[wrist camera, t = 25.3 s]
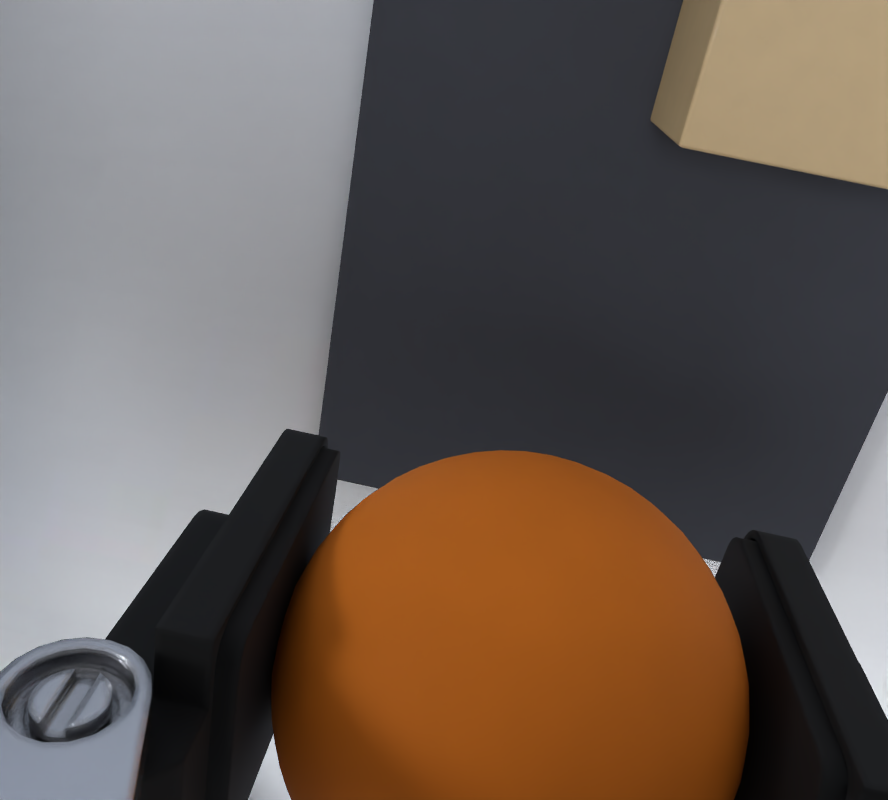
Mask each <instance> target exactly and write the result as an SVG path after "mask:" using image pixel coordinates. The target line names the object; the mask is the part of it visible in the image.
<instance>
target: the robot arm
mask: <svg viewBox="0 0 888 800" xmlns="http://www.w3.org/2000/svg"><path fill="white" fill-rule="evenodd" d="M339 463H340V451H338V450H333V449H328V439H327V437H323V436H319V435H314V434H309V433H305V432H300V431H296V430H291V429H286V430H285V431H284V432H283V433H282V435H281V436H280V438H279V439H278V441H277V442H276V444H275V445H274V447H273V449H272V450H271V452H270V453H269V455H268V456H267V458H266V459H265V461H264V462H263V464H262V465H261V467H260V468H259V470H258V471H257V473H256V474H255V476H254V477H253V479H252V481H251V482H250V484H249V485H248V487H247V488H246V490H245V491H244V493H243V494H242V496H241V497H240V499H239V500H238V502H237V503H236V505H235V506H234V508H233V509H232V511H231V513H230V514H229V515H227V514H222V513H218V512H213V511H209V510H201V511H199V512H198V513H197V514H196V515H195V516H194V517H193V519H192V520H191V522H190V523H189V524H188V526H187V527H186V528H185V530H184V531H183V533H182V534H181V535H180V537H179V538H178V539H177V541H176V542H175V544H174V545H173V546H172V548H171V549H170V550H169V552H168V553H167V555H166V556H165V557H164V559H163V560H162V562H161V563H160V564H159V566H158V567H157V568H156V570H155V571H154V573H153V574H152V575H151V577H150V578H149V579H148V581H147V582H146V584H145V585H144V586H143V588H142V589H141V590H140V592H139V593H138V595H137V596H136V597H135V599H134V600H133V602H132V603H131V604H130V606H129V607H128V608H127V610H126V611H125V613H124V614H123V615H122V617H121V618H120V619H119V621H118V622H117V624H116V625H115V626H114V628H113V629H112V630H111V632H110V633H109V635H108V636H107V637H106V639H96V638H88V637H86V638H75V639H64V640H60V641H56V642H53V643H49V644H46V645H43V646H39V647H37V648H35V649H33V650H31V651H29V652H27V653H26V654H24V655H22V656H20V657H18V658H16V659H15V660H14V661H12V662H11V663H10V664H9V665H8V666H7V667H6V668H4V669H3V670H2V671H1V672H0V800H248V797H249V795H250V792H251V790H252V787H253V784H254V782H255V779H256V777H257V774H258V772H259V769H260V766H261V764H262V761H263V759H264V756H265V754H266V751H267V749H268V746H269V743H270V741H271V738H272V736H273V726H272V710H271V683H272V670H273V665H274V659H275V654H276V649H277V644H278V639H279V636H280V632H281V628H282V624H283V621H284V617H285V614H286V611H287V608H288V605H289V602H290V600H291V597H292V594H293V591H294V588H295V586H296V584H297V582H298V580H299V579H300V577H301V575H302V573H303V572H304V570H305V568H306V566H307V565H308V563H309V561H310V560H311V558H312V556H313V555H314V553H315V551H316V550H317V548H318V547H319V545H320V544H321V543H322V542H323V541H324V539H325V538H326V537H327V536H328V535H329V534H330V527H331V520H332V513H333V506H334V499H335V492H336V485H337V478H338V471H339ZM715 579H716V581H717V583H718V585H719V587H720V588H721V590H722V592H723V594H724V597H725V599H726V601H727V604H728V606H729V609H730V611H731V614H732V616H733V619H734V622H735V625H736V627H737V630H738V633H739V636H740V640H741V645H742V650H743V654H744V659H745V665H746V671H747V676H748V682H749V738H748V744H747V750H746V756H745V762H744V767H743V772H742V778H741V782H740V785H739V788H738V790H737V793H736V796H735V798H734V800H888V720H887V718H886V716H885V714H884V712H883V710H882V708H881V705H880V703H879V701H878V699H877V697H876V695H875V693H874V691H873V689H872V687H871V685H870V683H869V681H868V679H867V677H866V675H865V673H864V671H863V669H862V667H861V665H860V663H859V662H858V660H857V658H856V656H855V654H854V652H853V650H852V648H851V646H850V644H849V642H848V640H847V638H846V636H845V634H844V632H843V630H842V628H841V626H840V624H839V622H838V619H837V617H836V615H835V613H834V611H833V609H832V607H831V605H830V603H829V601H828V599H827V597H826V595H825V593H824V591H823V589H822V587H821V585H820V583H819V581H818V579H817V577H816V575H815V573H814V570H813V568H812V566H811V564H810V562H809V560H808V558H807V556H806V554H805V552H804V550H803V548H802V546H801V544H800V543H799V541H798V540H797V539H794V538H789V537H785V536H780V535H776V534H771V533H766V532H762V531H757V530H751V531H749V532H748V533H747V535H746V536H745V537H744V539H743V538H738V537H735V538H733V539H732V540H731V541H730V543H729V545H728V547H727V549H726V552H725V554H724V557H723V559H722V561H721V564H720V566H719V569H718V571H717V574H716V576H715Z"/></svg>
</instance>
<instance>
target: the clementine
mask: <svg viewBox="0 0 888 800" xmlns="http://www.w3.org/2000/svg"><path fill="white" fill-rule="evenodd" d="M271 710H272V726H273V733H274V740H275V746H276V750H277V755H278V760H279V765H280V769H281V772H282V775H283V778H284V782H285V785H286V788H287V790H288V793H289V795H290V798H291V800H734V798H735V796H736V793H737V790H738V788H739V785H740V782H741V778H742V772H743V767H744V762H745V756H746V750H747V744H748V738H749V682H748V676H747V671H746V665H745V659H744V654H743V650H742V645H741V640H740V636H739V633H738V630H737V627H736V625H735V622H734V619H733V616H732V614H731V611H730V609H729V606H728V604H727V601H726V599H725V597H724V594H723V592H722V590H721V588H720V587H719V585H718V583H717V581H716V579H715V578H714V576H713V574H712V572H711V570H710V569H709V567H708V566H707V564H706V563H705V561H704V560H703V558H702V557H701V556H700V554H699V553H698V551H697V550H696V549H695V548H694V546H693V545H692V544H691V542H690V541H689V540H688V539H687V537H686V536H685V535H684V533H683V532H682V531H681V530H680V529H679V528H678V527H677V526H676V525H675V524H674V523H673V522H672V521H670V520H669V519H668V518H667V517H666V516H665V515H664V514H663V513H662V512H661V511H660V510H659V509H658V508H657V507H655V506H654V505H653V504H652V503H651V502H649V501H648V500H647V499H645V498H644V497H643V496H641V495H640V494H638V493H637V492H636V491H634V490H633V489H632V488H630V487H628V486H627V485H625V484H623V483H621V482H619V481H618V480H616V479H614V478H612V477H610V476H609V475H607V474H604V473H602V472H599V471H597V470H594V469H592V468H590V467H587V466H585V465H582V464H580V463H577V462H574V461H571V460H567V459H563V458H560V457H556V456H552V455H547V454H541V453H534V452H528V451H508V450H496V451H483V452H473V453H468V454H463V455H458V456H453V457H449V458H444V459H441V460H438V461H435V462H432V463H429V464H426V465H423V466H420V467H418V468H415V469H413V470H411V471H409V472H407V473H405V474H403V475H401V476H399V477H397V478H395V479H393V480H392V481H390V482H389V483H387V484H386V485H384V486H383V487H381V488H380V489H378V490H377V491H375V492H374V493H372V494H371V495H369V496H368V497H366V498H365V499H364V500H362V501H361V502H360V503H359V504H358V505H357V506H356V507H354V508H353V509H352V510H351V511H350V512H349V513H348V514H346V515H345V516H344V518H343V519H342V520H341V521H340V522H339V523H338V524H337V525H336V527H335V528H334V529H333V530H332V531H331V532H330V534H329V535H328V536H327V537H326V538H325V539H324V541H323V542H322V543H321V544H320V545H319V547H318V548H317V550H316V551H315V553H314V555H313V556H312V558H311V560H310V561H309V563H308V565H307V566H306V568H305V570H304V572H303V573H302V575H301V577H300V579H299V580H298V582H297V584H296V586H295V588H294V591H293V594H292V597H291V600H290V602H289V605H288V608H287V611H286V614H285V617H284V621H283V624H282V628H281V632H280V636H279V639H278V644H277V649H276V654H275V659H274V665H273V670H272V683H271Z"/></svg>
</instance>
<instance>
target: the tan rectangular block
mask: <svg viewBox="0 0 888 800" xmlns="http://www.w3.org/2000/svg"><path fill="white" fill-rule="evenodd" d="M651 122H653V123H654V124H655V125H656V126H657V127H658V128H659V129H660V130H662V131H663V132H664V133H665V134H666V135H667V136H668V137H670V138H671V139H672V140H673V141H674V142H675V143H676V144H677V145H679V146H680V147H681V148H686V149H690V150H695V151H700V152H705V153H710V154H715V155H720V156H725V157H730V158H735V159H740V160H745V161H750V162H755V163H760V164H765V165H769V166H774V167H779V168H784V169H789V170H794V171H799V172H804V173H809V174H814V175H819V176H824V177H829V178H834V179H839V180H844V181H848V182H853V183H858V184H863V185H868V186H873V187H878V188H883V189H888V0H683V3H682V6H681V10H680V14H679V17H678V21H677V25H676V28H675V32H674V35H673V39H672V43H671V46H670V50H669V53H668V57H667V61H666V64H665V68H664V71H663V75H662V79H661V82H660V86H659V90H658V93H657V97H656V100H655V104H654V108H653V111H652V115H651Z"/></svg>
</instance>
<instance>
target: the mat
mask: <svg viewBox="0 0 888 800" xmlns="http://www.w3.org/2000/svg"><path fill="white" fill-rule="evenodd" d="M682 3H683V0H374V4H373V12H372V19H371V27H370V35H369V43H368V51H367V59H366V67H365V75H364V82H363V90H362V98H361V106H360V114H359V122H358V130H357V138H356V146H355V153H354V161H353V169H352V177H351V185H350V193H349V201H348V209H347V216H346V224H345V232H344V240H343V248H342V256H341V264H340V272H339V280H338V287H337V295H336V303H335V311H334V319H333V327H332V335H331V343H330V350H329V358H328V366H327V374H326V382H325V390H324V398H323V406H322V413H321V421H320V429H319V436H323V437H327V439H328V449H333V450H338V451H340V463H339V471H338V478H337V479H338V480H342V481H347V482H352V483H356V484H361V485H365V486H370V487H375V488H379V489H380V488H381V487H383V486H384V485H386V484H387V483H389V482H390V481H392V480H393V479H395V478H397V477H399V476H401V475H403V474H405V473H407V472H409V471H411V470H413V469H415V468H418V467H420V466H423V465H426V464H429V463H432V462H435V461H438V460H441V459H444V458H449V457H453V456H458V455H463V454H468V453H473V452H483V451H496V450H508V451H528V452H534V453H541V454H547V455H552V456H556V457H560V458H563V459H567V460H571V461H574V462H577V463H580V464H582V465H585V466H587V467H590V468H592V469H594V470H597V471H599V472H602V473H604V474H607V475H609V476H610V477H612V478H614V479H616V480H618V481H619V482H621V483H623V484H625V485H627V486H628V487H630V488H632V489H633V490H634V491H636V492H637V493H638V494H640V495H641V496H643V497H644V498H645V499H647V500H648V501H649V502H651V503H652V504H653V505H654V506H655V507H657V508H658V509H659V510H660V511H661V512H662V513H663V514H664V515H665V516H666V517H667V518H668V519H669V520H670V521H672V522H673V523H674V524H675V525H676V526H677V527H678V528H679V529H680V530H681V531H682V532H683V533H684V535H685V536H686V537H687V539H688V540H689V541H690V542H691V544H692V545H693V546H694V548H695V549H696V550H697V551H698V553H699V554H700V556H701V557H702V558H704V559H709V560H713V561H718V562H721V561H722V559H723V557H724V554H725V552H726V549H727V547H728V545H729V543H730V541H731V540H732V539H733V538H735V537H738V538H743V539H744V537H745V536H746V535H747V533H748V532H749V531H751V530H757V531H762V532H766V533H771V534H776V535H780V536H785V537H789V538H794V539H797V540H798V541H799V543H800V544H801V546H802V548H803V550H804V552H805V554H806V556H807V558H808V560H809V559H810V557H811V555H812V553H813V551H814V549H815V547H816V544H817V542H818V540H819V538H820V536H821V534H822V532H823V529H824V527H825V525H826V523H827V521H828V519H829V516H830V514H831V512H832V510H833V508H834V506H835V504H836V501H837V499H838V497H839V495H840V493H841V491H842V489H843V486H844V484H845V482H846V480H847V478H848V476H849V473H850V471H851V469H852V467H853V465H854V463H855V461H856V458H857V456H858V454H859V452H860V450H861V448H862V445H863V443H864V441H865V439H866V437H867V435H868V433H869V430H870V428H871V426H872V424H873V422H874V420H875V418H876V415H877V413H878V411H879V409H880V407H881V405H882V402H883V400H884V398H885V396H886V394H887V392H888V189H883V188H878V187H873V186H868V185H863V184H858V183H853V182H848V181H844V180H839V179H834V178H829V177H824V176H819V175H814V174H809V173H804V172H799V171H794V170H789V169H784V168H779V167H774V166H769V165H765V164H760V163H755V162H750V161H745V160H740V159H735V158H730V157H725V156H720V155H715V154H710V153H705V152H700V151H695V150H690V149H686V148H681V147H680V146H679V145H677V144H676V143H675V142H674V141H673V140H672V139H671V138H670V137H668V136H667V135H666V134H665V133H664V132H663V131H662V130H660V129H659V128H658V127H657V126H656V125H655V124H654V123H653V122H651V115H652V111H653V108H654V104H655V100H656V97H657V93H658V90H659V86H660V82H661V79H662V75H663V71H664V68H665V64H666V61H667V57H668V53H669V50H670V46H671V43H672V39H673V35H674V32H675V28H676V25H677V21H678V17H679V14H680V10H681V6H682Z"/></svg>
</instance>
